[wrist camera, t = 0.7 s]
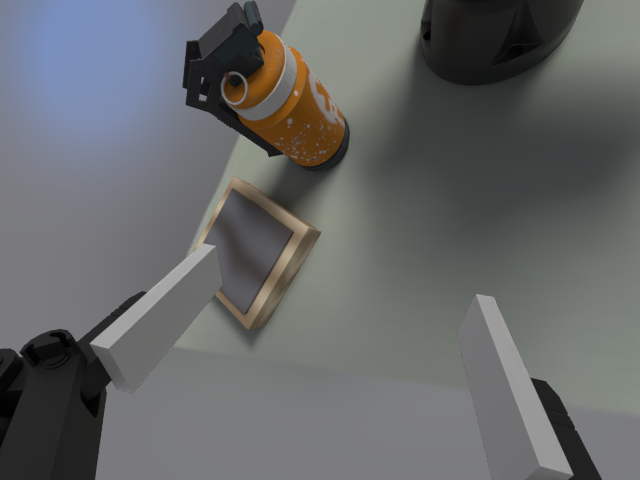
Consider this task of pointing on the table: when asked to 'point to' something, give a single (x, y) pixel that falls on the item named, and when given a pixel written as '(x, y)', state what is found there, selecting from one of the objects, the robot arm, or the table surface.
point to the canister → (264, 90)
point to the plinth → (256, 251)
